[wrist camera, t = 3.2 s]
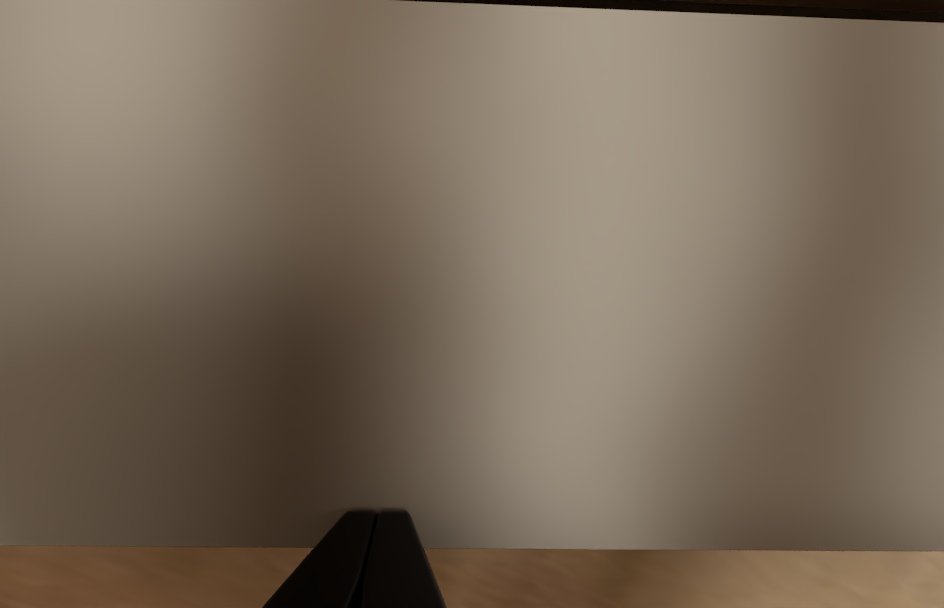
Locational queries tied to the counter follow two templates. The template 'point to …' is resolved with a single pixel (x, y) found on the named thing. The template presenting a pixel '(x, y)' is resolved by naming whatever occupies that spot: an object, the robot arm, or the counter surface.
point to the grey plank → (469, 276)
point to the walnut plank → (843, 4)
